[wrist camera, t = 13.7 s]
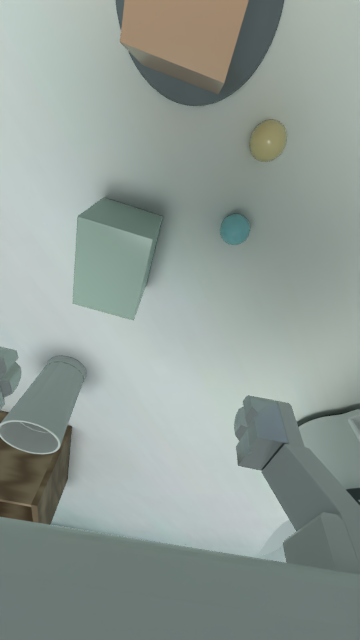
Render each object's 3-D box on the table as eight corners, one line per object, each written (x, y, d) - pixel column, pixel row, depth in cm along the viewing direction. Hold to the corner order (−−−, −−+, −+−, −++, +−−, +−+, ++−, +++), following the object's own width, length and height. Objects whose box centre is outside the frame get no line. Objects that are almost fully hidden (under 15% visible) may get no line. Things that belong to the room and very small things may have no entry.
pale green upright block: (162, 216, 28) (152, 239, 23) (145, 286, 34) (133, 320, 28) (103, 197, 28) (77, 216, 22) (95, 272, 33) (72, 303, 27)
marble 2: (297, 116, 21) (268, 119, 20) (291, 159, 23) (265, 164, 22) (270, 119, 24) (243, 122, 22) (267, 159, 25) (241, 163, 24)
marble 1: (234, 253, 27) (227, 248, 29) (259, 233, 26) (250, 230, 29) (217, 229, 26) (212, 226, 28) (243, 207, 25) (235, 207, 28)
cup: (33, 356, 43) (-17, 424, 33) (76, 348, 41) (37, 417, 31) (59, 388, 47) (22, 456, 37) (99, 382, 45) (71, 451, 36)
